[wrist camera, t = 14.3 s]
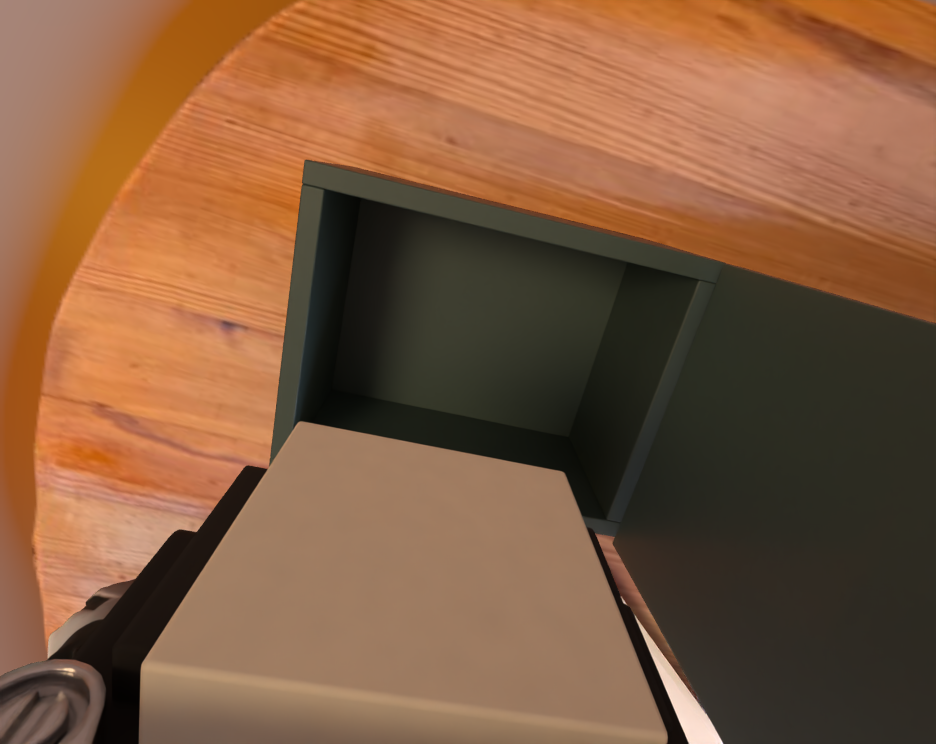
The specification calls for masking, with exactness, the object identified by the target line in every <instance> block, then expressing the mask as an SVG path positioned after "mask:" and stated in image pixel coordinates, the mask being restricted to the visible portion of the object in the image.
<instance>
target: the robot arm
mask: <svg viewBox="0 0 936 744" xmlns="http://www.w3.org/2000/svg"><path fill="white" fill-rule="evenodd" d="M267 470H268V469H265V468H259V467H254V466H246V467H245V468H244V469H243V470H242V471H241V473H240V474H239V475H238V477H237V478H236V480H235V481H234V482H233V484H232V485H231V486H230V488H229V489H228V490H227V492H226V493H225V495H224V496H223V497H222V499H221V500H220V501H219V503H218V504H217V505H216V507H215V508H214V510H213V511H212V512H211V514H210V515H209V516H208V518H207V519H206V520H205V522H204V523H203V525H202V526H201V527H200V529H199V530H198V531H197V532H192V531H186V530H177V531H175V532H174V533H173V534H172V535H171V536H170V537H169V538H168V539H167V541H166V542H165V543H164V544H163V546H162V547H161V548H160V549H159V551H158V552H157V553H156V554H155V556H154V557H153V558H152V559H151V561H150V562H149V563H148V564H147V566H146V567H145V568H144V569H143V571H142V572H141V573H140V574H139V576H138V577H137V578H136V579H135V580H134V582H133V583H132V584H131V585H130V587H129V588H128V589H127V590H126V592H125V593H124V594H123V595H122V597H121V598H120V599H119V600H118V602H117V603H116V604H115V605H114V607H113V608H112V609H111V610H110V612H109V613H108V614H107V615H106V617H105V618H104V619H103V620H102V622H101V623H100V624H99V625H98V627H97V628H96V629H95V630H94V632H93V633H92V634H91V635H90V637H89V638H88V639H87V640H86V642H85V643H84V644H83V645H82V647H81V648H80V649H79V650H78V652H77V653H76V654H75V655H74V656H73V658H72V659H71V660H69V659H52V660H46V661H42V662H36V663H31V664H28V665H26V666H23V667H20V668H17V669H15V670H12V671H10V672H7V673H5V674H4V675H2V676H0V744H139V715H140V678H141V665H142V663H143V661H144V660H145V658H146V656H147V655H148V653H149V652H150V650H151V649H152V647H153V646H154V644H155V643H156V641H157V639H158V638H159V636H160V635H161V633H162V632H163V630H164V629H165V627H166V626H167V624H168V622H169V621H170V619H171V618H172V616H173V615H174V613H175V612H176V610H177V609H178V607H179V605H180V604H181V602H182V601H183V599H184V598H185V596H186V595H187V593H188V592H189V590H190V589H191V587H192V585H193V584H194V582H195V581H196V579H197V578H198V576H199V575H200V573H201V572H202V570H203V568H204V567H205V565H206V564H207V562H208V561H209V559H210V558H211V556H212V555H213V553H214V551H215V550H216V548H217V547H218V545H219V544H220V542H221V541H222V539H223V538H224V536H225V534H226V533H227V531H228V530H229V528H230V527H231V525H232V524H233V522H234V521H235V519H236V517H237V516H238V514H239V513H240V511H241V510H242V508H243V507H244V505H245V504H246V502H247V500H248V499H249V497H250V496H251V494H252V493H253V491H254V490H255V488H256V487H257V485H258V484H259V482H260V480H261V479H262V477H263V476H264V474H265V473H266V471H267ZM586 528H587V531H588V533H589V536H590V538H591V541H592V543H593V546H594V548H595V551H596V553H597V556H598V558H599V561H600V564H601V566H602V569H603V571H604V574H605V576H606V579H607V581H608V584H609V586H610V589H611V591H612V594H613V596H614V599H615V602H616V604H617V607H618V609H619V612H620V614H621V617H622V619H623V622H624V624H625V627H626V629H627V632H628V635H629V637H630V640H631V642H632V645H633V647H634V650H635V652H636V655H637V657H638V660H639V662H640V665H641V668H642V670H643V673H644V675H645V678H646V680H647V683H648V685H649V688H650V690H651V693H652V695H653V698H654V700H655V703H656V706H657V708H658V711H659V713H660V716H661V718H662V721H663V723H664V726H665V728H666V731H667V736H668V741H667V744H689V743H688V740H687V738H686V736H685V733H684V731H683V729H682V726H681V724H680V721H679V719H678V717H677V714H676V712H675V710H674V707H673V705H672V703H671V700H670V698H669V696H668V693H667V691H666V688H665V686H664V684H663V681H662V679H661V677H660V674H659V672H658V670H657V667H656V665H655V663H654V660H653V658H652V656H651V653H650V651H649V648H648V646H647V644H646V641H645V639H644V637H643V634H642V632H641V630H640V627H639V625H638V623H637V620H636V618H635V615H634V613H633V612H632V610H631V608H630V607H629V606H628V605H626V604H624V603H623V600H622V598H621V595H620V593H619V591H618V588H617V586H616V583H615V581H614V578H613V576H612V574H611V571H610V569H609V566H608V564H607V561H606V559H605V556H604V554H603V552H602V549H601V547H600V544H599V542H598V539H597V537H596V535H595V532H594V531H593V529H592V528H589V527H586Z"/></svg>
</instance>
